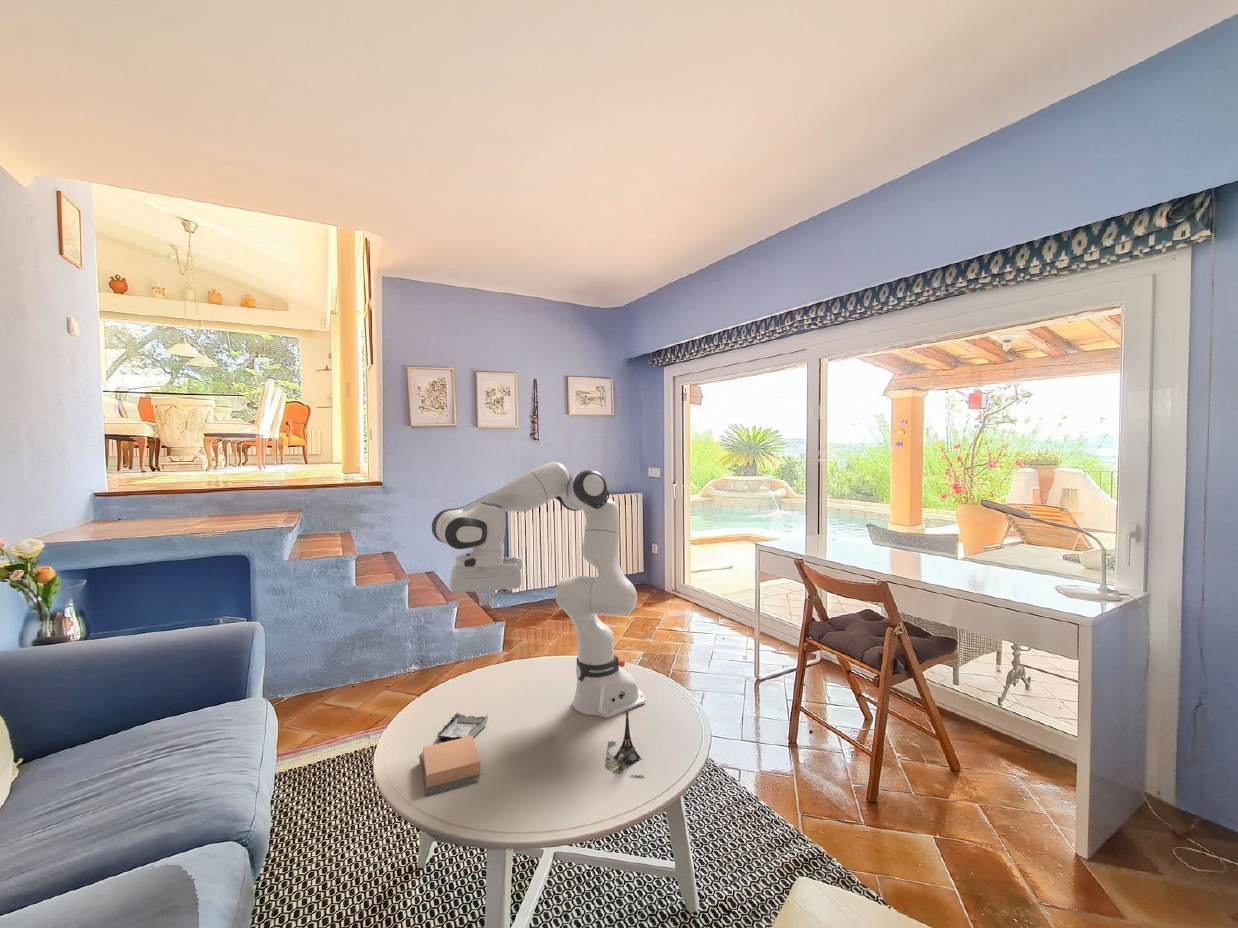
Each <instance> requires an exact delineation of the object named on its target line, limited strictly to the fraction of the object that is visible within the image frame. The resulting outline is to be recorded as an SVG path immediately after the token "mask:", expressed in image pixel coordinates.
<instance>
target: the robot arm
mask: <svg viewBox="0 0 1238 928" xmlns="http://www.w3.org/2000/svg"><path fill="white" fill-rule="evenodd" d="M554 498H555V499H556V500H557V501H559V503H560V505H561V506H563V507H564V508H565V509H566V510H569V511H572V512H573V511H574V512H579V511H581V510H583V513H584V516H585V525H584V526H585V527H584V536H583V542H582V543H583V544H582V556H583V558H584V560H585V561H586V562H587V563H589V564H590V565H592V566H593V567H595V568H596V570H597V576H581V575H576V576H575V575H574V576H567V577H563V578H562V579H561V580H560V581H559V582H558V584H557V586H556V588H555V593H554V594H555V595H554V596H555V601H556V604H557V606H558V607H559V608H560V609H561V610H563V611H564V613H566V615H567V617H569V618H570V620H571V622H572V624H573V627H574V628H575V632H576V639H577V657H576V667H575V670H576V671H575V672H576V678H577V679H576V687H575V693H574V697H573V702H572V707H573V708H574V710H575V711H577V712H579V713H581V714H585V715H590V716H598V717H602V718H605V719H609V718H612V717H614V716H617V715H620V714H623V713H624V711H625V712H627V711H629V710H628V709H630V710H632V709H634V708H633V707H635V706H637V705H640V706H642V705H641V704H643V703H644V702H645V703H646V696H645V695H644V693H643V692H642V691H641V690H640V689H639V688H638V685H637V681H636V680H635V677H633V676H632V675H631V674H630V673H629V672H628V671H626V670H624V669H623V667H625V665H626V662H625V660H623V659H622V658H620V657H618V656H617V655H615V653H614V652H615V651H614V650H615V648H614V647H615V646H614V645H615V643H614V642H615V641H614V639H615V637H614V633H613V631H612V629H611V628H610V626H608V625H607V624H606V623H604V622H603V621H601V620H600V618H599V617H598V615H604V616H614V617H615V616H624V615H629V614H631V613H632V612H633V610H634V609H635V607H636V605H637V603H638V593H637V590H636V587H635V586H634V584H633V582H631V581H630V580H629V579H628V578H627V576H626V575H625V574H624V572H623V570H622V568H621V566H620V561H619V537H620V512H619V506H618V505H617V503H616V502H614V500H612V499H609V498H610V492H609V490H608V485H607V482H606V479H605V477H604V476H603V474H601V472H598V471H597V470H592V469H588V470H582V471H580V472H578V473H577V474H571V473H569V471H568V469H567V468H566V467H565V466H564V464H562V463H560V462H559V461H558V462H557V461H552V462H548V463H545V464H542V465H539V466H537V467H535V468H533V469H531V470H528V471H527V472H524V473H523V474H521V475H520V476H518V477H516V478H515V479H513V480H512V481H510V482H509V483H507V484H505V485H503V486H501V487H500V488H498V489H496V490H495V491H493V492H491V493H488V494H487V495H484V496H483V497H480V498H478V499H477V500H475V501H471V502H470V503H468V504H466V505H464V506H461V507H457V508H455V507H454V508H446V509H443V510H441V511H440V512H438V513H437V514H436V515H435V516H434V518H433V520H432V523H431V531H432V532H431V533H432V535H433V537H434V538H435V539H436V540H437V541H438V542H441V543H444V544H446V545H447V546H450V548H452V549H455V550H465V549H466V550H467V549H470V548H472V550H471V551H468V552H465V553H462V554H459V555H457V556H455V563H456V564H455V565H454V566H453V568H452V569H451V575H450V579H449V589H450V590H451V592H452V593H454V594H455V593H469V592H471V593H472V592H475V594H476V595H477V597H478V599H479V603H478V604H479V607H482V606H483V607H484V606H491V603H492V599H493V598H494V597H495V595H496V591H497V590H499V591H500V590H509V589H510V590H513V589H514V590H515V589H519V588H520V587H521V584H522V575H521V574H522V573H521V570H522V568H523V562H522V559H521V558H518V557H517V556H512V557H511V556H505V557H504V555H505V545H504V540H505V539H504V538H505V536H506V529H507V528H506V523H507V522H506V521H507V520H506V519H507V518H506V512H518V513H519V512H520V513H522V512H523V513H525V512H529V511H531V510H534V509H536V508H539V507H541V506H543V505H544V504H546V503H548V502H549V501H551V500H553V499H554ZM484 591H485V592H486V591H488V593H489V594H488V596H487V597H482V595H484V594H483V593H484ZM643 705H644V704H643ZM635 708H636V707H635ZM626 710H627V711H626Z"/></svg>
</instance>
